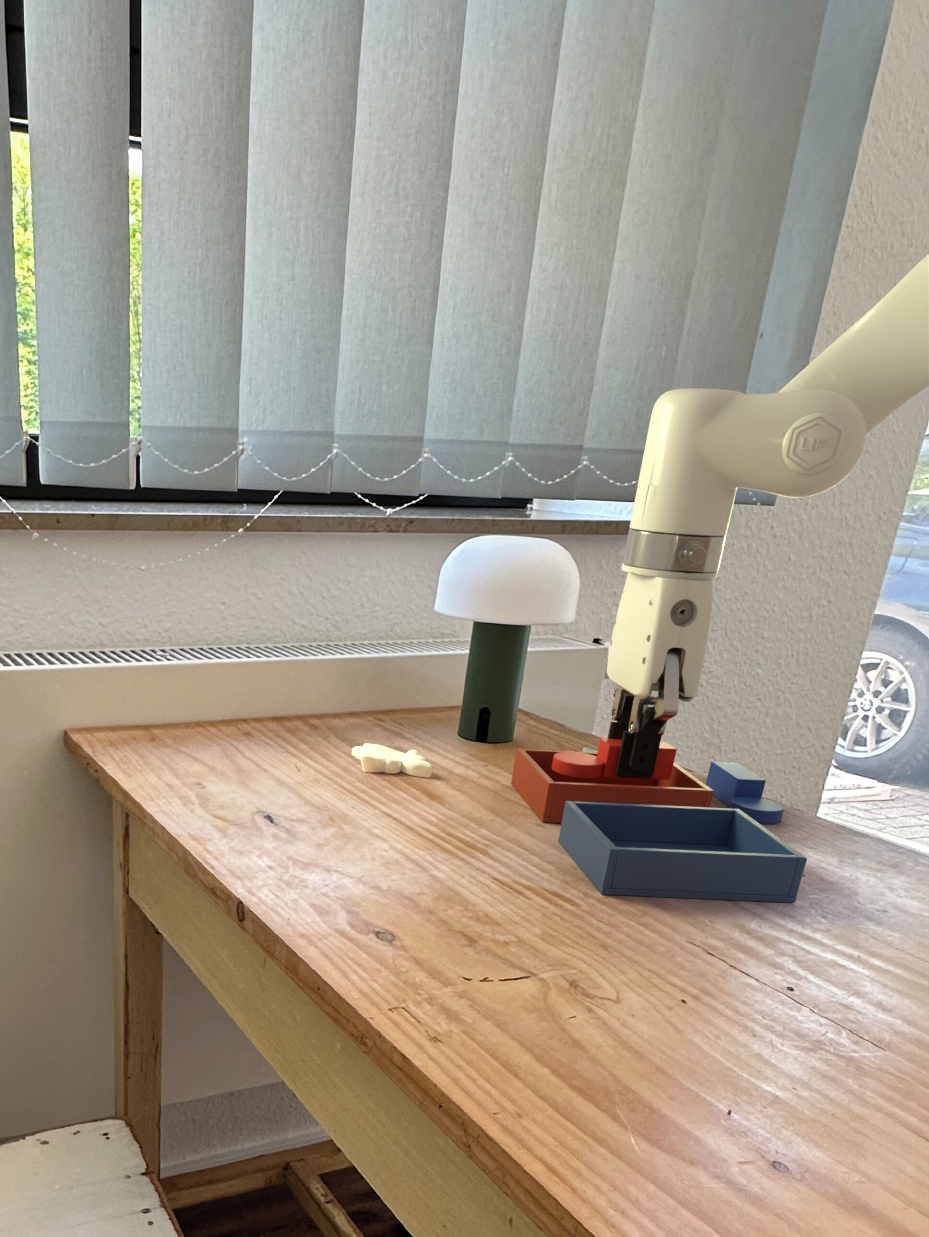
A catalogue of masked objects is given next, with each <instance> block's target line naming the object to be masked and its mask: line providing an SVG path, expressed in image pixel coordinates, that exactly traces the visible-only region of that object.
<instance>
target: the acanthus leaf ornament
mask: <svg viewBox="0 0 929 1237" xmlns="http://www.w3.org/2000/svg"><path fill="white" fill-rule="evenodd" d="M420 754H421V753H419V751H417V750H416V749H410V750H408V751H407V752H403V751H399V750H397V749H395V748H394V749H393V748H391V747H388V746H385V745H381V744H377V743H368V742H366V743H363V745H358V746H357V745H356V746H354V747H352V748H351V756H352V757H355V759H356V760H359V761H360V764H361V769H362V771H363V772H365V773H385V774H398V773H400V772H402V773H404V774H407V775H409V776H413V777H419V778H428V779H430V778H431V776H432V774H433V770H434V767H433V765H432V764H431V763H430V762H428V761H427V758H426V757H424V756H422V755H420Z"/></svg>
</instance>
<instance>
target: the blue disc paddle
mask: <svg viewBox="0 0 929 1237" xmlns="http://www.w3.org/2000/svg"><path fill="white" fill-rule="evenodd" d="M766 782H767V781H766V779H764V778H763V777H761V776H759V775H758V774H756V773H755V772H753V771H752V770H750V769H749V768H747V767H745V765H743V764H741V763H739V762H736V761H716V760H715V761H710V765H709V769H708V773H707V777H706V782H705V785H707V786H708V787H709V788H711V789H712V790H714V794H713V797H715V798H716V799H717V800H719V801H720V802H722V804H725V805H726V806H727V808H728V807H729V808H730V809H740V810H741V811H743V812H744V813H745V814H747V815H748V816H749V817H751V818H752V819H754V820H755V821H756V822H758V823H759V824H761V825H762V824H763V825H774V824H778V823H780V822H782V818H783V814H784V811H785V807H784V805H782V804H781V803H780V802H777V801H775V800H771V799H768V798H764V797H763V794H764V790H765V785H766Z"/></svg>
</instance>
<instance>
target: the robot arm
mask: <svg viewBox="0 0 929 1237" xmlns="http://www.w3.org/2000/svg"><path fill="white" fill-rule="evenodd" d="M928 387H929V253H928V254H927V255H926V256H924V257H923V258H922V259H921V260H920V261H919V262H918V263H916V265H915V266H914V267H913V268H911V270H909V272H907V273H906V274H905V276H903V277H902V278H901V279H900V281H899V282H898V283H897V284H895V285H894V287H892V289H891V290H890V291H888V292H887V293H886V294H885V295H884V297H882V298H881V299H880V300H879V301H878V302H877V303H876V304H874V306H873V307H871V308H870V309H869V310H868V311H867V312H866V313H864V314H863V315H862V316H861V317H860V318H859V319H858V320H857V321H856V322H854V324H852V325H851V326H850V327H849V328H848V329H847V330H845V331H844V332H843V333H842V334H841V335H840V336H839V337H838V338H837V339H835V340H834V341H833V342H832V343H831V344H829V345H828V346H827V347H826V348H825V349H824V350H823V351H822V352H821V353H820V354H819V355H817V357H815V358H814V359H813V360H812V361H811V362H810V363H809V364H808V365H806V367H805V368H803V369H802V370H801V371H800V372H799V373H797V374H796V375H795V377H793V378H792V379H791V380H790V381H789V382H788V383H787V384H785V385H784V386H783V387H782V388H781V389H780V390H779V391H777V392H772V393H751V394H748V393H747V394H746V393H745V392H742V391H737V390H732V389H721V388H701V387H700V388H695V387H692V388H689V387H688V388H687V387H685V388H676V389H671V390H668V391H665V392H664V393H662V394H661V395H660V396H659V397H658V398H657V400H656V401H655V403H654V405H653V408H652V411H651V415H650V419H649V423H648V430H647V435H646V440H645V444H644V450H643V451H644V452H643V456H642V461H641V465H640V471H639V477H638V482H637V487H636V493H635V496H634V502H633V508H632V513H631V518H630V523H629V529H628V533H627V538H626V544H625V547H624V548H625V549H624V555H623V558H622V563H621V572H625V573H627V575H626V579H625V583H624V585H623V590H622V593H621V596H620V597H621V598H620V600H619V604H618V607H617V608H618V609H617V613H616V616H615V621H614V624H613V630H612V634H611V639H610V644H609V649H608V654H607V662H606V675H607V677H608V678H609V680H610V681H611V683H612V684H611V685H612V687H613V691H614V693H613V698H614V699H613V702H612V703H613V704H612V708H611V711H610V712H611V713H610V719H611V721H610V724H609V727H610V729H609V728H608V734H607V739H622V741H621V746H620V751H619V756H618V761H617V765H616V770H615V773H616V775H617V776H619V777H624V778H644V779H649V778H651V777H652V776H653V773H654V769H655V764H656V759H657V755H658V750H659V746H660V741H662V736H663V735H664V734H665V732H666V728H667V723H668V721H669V720H670V719H673V718H675V717H676V716H677V715H678V713H679V712H678V711H679V700H680V701H682V702H686V703H687V702H691V701H693V700H694V699H695V698H696V697H697V695H698V691H699V688H700V683H701V677H702V674H703V673H702V672H703V668H704V663H705V657H706V652H707V646H708V639H709V632H710V626H711V620H712V611H713V600H714V584H715V581H714V580H716V579H717V578H718V574H719V572H718V571H719V569H720V565H721V560H722V557H723V552H724V549H725V548H724V547H725V543H726V539H727V534H728V530H729V526H730V521H731V516H732V513H733V508H734V503H735V499H736V495H737V491H738V489H747V490H752V491H757V492H762V493H768V494H771V495H776V496H779V497H785V498H791V499H792V498H794V499H799V498H809V497H812V496H816V495H820V494H822V493H824V492H827V491H829V490H831V489H833V488H835V487H836V486H837V485H839V484H840V483H841V482H843V481H844V480H845V479H846V478H847V477H848V476H849V475H850V474H851V473H852V472H853V470H854V469H855V468H856V467H857V465H858V463H859V462H860V460H861V458H862V455H863V453H864V450H865V446H866V442H867V434H869V433H870V432H871V431H872V430H873V429H874V428H876V427H877V426H878V425H879V424H880V423H882V422H883V421H884V420H886V418H888V417H890V416H891V415H892V413H894V412H895V411H896V410H898V409H900V407H902V406H904V404H906V403H907V402H908V401H910V400H911V399H912V398H914V397H915V396H916V395H918V394H920V393H921V392H922V391H924V390H925V389H927V388H928ZM653 692H657V695H655V696H654V695H652V693H653ZM612 721H617V722H612Z"/></svg>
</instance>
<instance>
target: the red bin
mask: <svg viewBox="0 0 929 1237" xmlns="http://www.w3.org/2000/svg"><path fill="white" fill-rule="evenodd" d="M560 752H578V753H585V754H590V755H594V756H597V753H598V752H584V751H581V750H580V751H576V750H574V751H573V750H556V749H536V748H516V751H515V756H514V763H513V770H512V775H511V781H510V785H511V786H512V787H513V788H514V790H515V791H516V792H517V793H518V795H519V796H520V797H521V799H523V800H524V802H525V803H526V804H527V805H528V807H529V809H531V810H532V811H533V813H534V814H535V815H536V816H537V817H538V819H539V820H540V822H542V823H549V824H550V823H551V824H552V823H553V824H561V823H562V818H563V812H564V807H565V802H566V801H579V802H600V803H622V804H644V805H665V806H687V807H708V808H712V802H713V797H714V796H713V794H714V790H712V789H711V788H709V787H708V786H707V785H706V783H704V782H703V781H701V780H700V779H698V778H697V777H696V776H694V775H693V774H691V773H690V772H689V771H688V770H686V769H684V768H683V767H681V766H680V765H679V764H677V763H676V762H675V761H674V764H673V768H672V772H671V777H670V780H665V779H644V778H624V777H605V776H603V775H601V776H600V777H596V778H577V777H570V776H566V775H562V774H559V773H557V772H555V771H553V770H552V762H553V757H554V755H555V754H556V753H560Z"/></svg>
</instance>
